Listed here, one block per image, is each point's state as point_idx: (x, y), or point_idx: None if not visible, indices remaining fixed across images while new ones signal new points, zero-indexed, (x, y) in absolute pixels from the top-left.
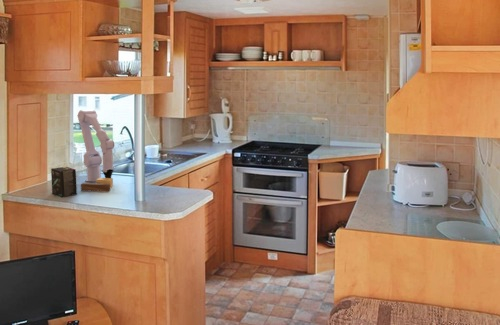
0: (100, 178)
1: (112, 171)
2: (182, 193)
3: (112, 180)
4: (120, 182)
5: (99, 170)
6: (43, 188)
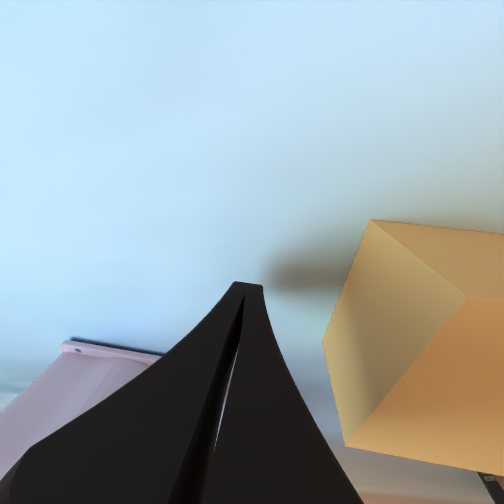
0: (408, 443)
1: (168, 497)
2: None
3: (446, 265)
4: (136, 146)
5: (11, 447)
6: None
